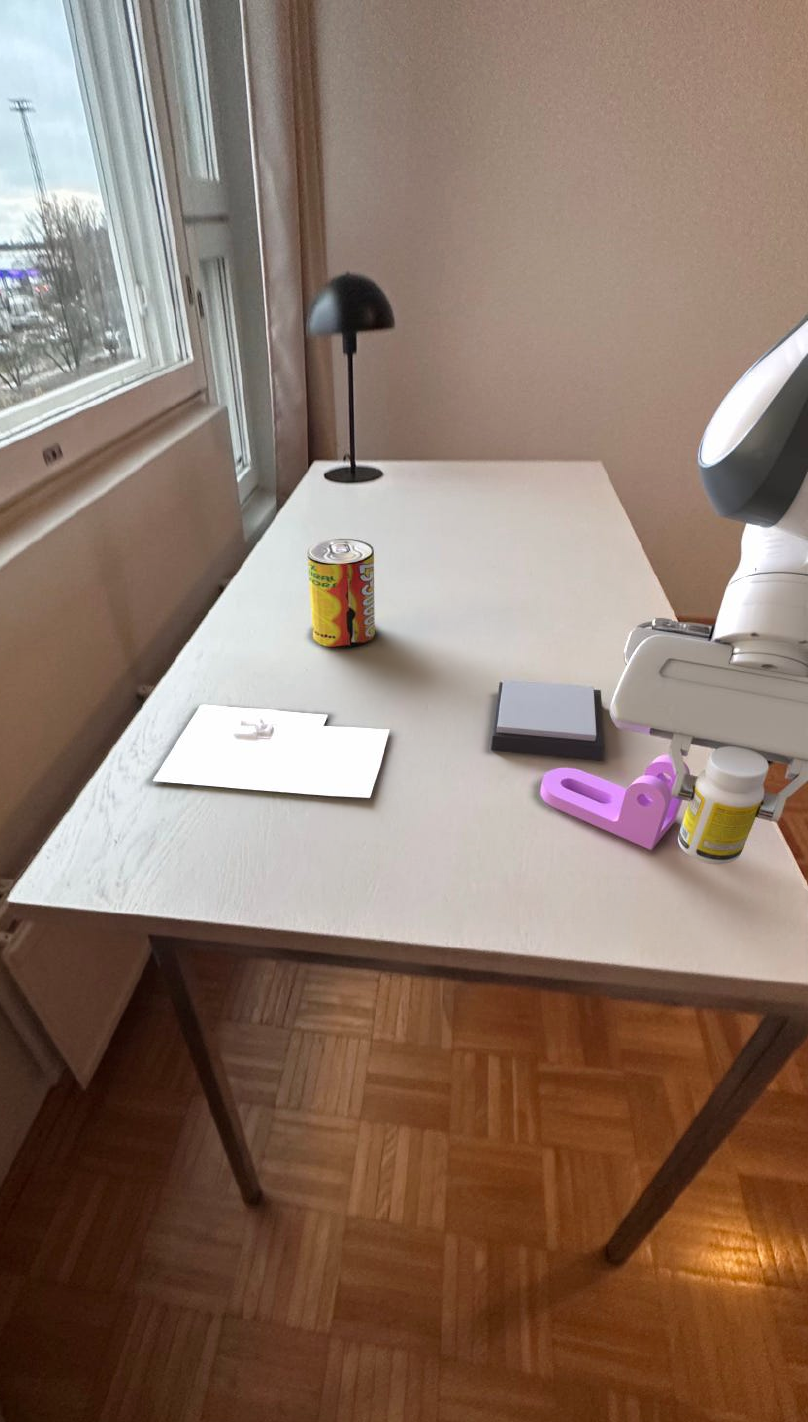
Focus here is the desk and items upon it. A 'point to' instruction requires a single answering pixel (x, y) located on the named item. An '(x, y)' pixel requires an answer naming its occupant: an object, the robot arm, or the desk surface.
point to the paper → (275, 753)
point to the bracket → (618, 801)
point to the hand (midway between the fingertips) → (723, 808)
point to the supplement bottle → (723, 805)
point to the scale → (549, 720)
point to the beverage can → (342, 592)
